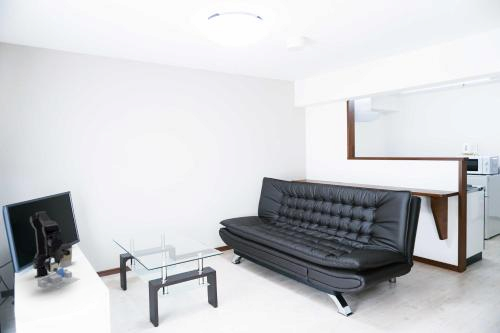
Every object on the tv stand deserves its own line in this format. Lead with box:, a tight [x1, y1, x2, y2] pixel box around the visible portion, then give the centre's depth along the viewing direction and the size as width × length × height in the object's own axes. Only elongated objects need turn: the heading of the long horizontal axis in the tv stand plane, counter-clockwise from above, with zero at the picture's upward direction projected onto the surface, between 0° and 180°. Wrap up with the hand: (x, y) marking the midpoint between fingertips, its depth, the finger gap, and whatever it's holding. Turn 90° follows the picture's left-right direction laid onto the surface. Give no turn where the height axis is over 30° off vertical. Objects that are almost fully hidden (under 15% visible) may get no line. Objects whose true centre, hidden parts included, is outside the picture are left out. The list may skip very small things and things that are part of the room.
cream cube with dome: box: [45, 261, 59, 274], centre depth 196 cm, size 9×4×4 cm, turn 61°
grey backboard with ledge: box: [36, 267, 81, 292], centre depth 202 cm, size 14×18×6 cm
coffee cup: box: [59, 242, 73, 268], centre depth 231 cm, size 9×9×15 cm
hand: (53, 270), depth 196 cm, fingers closed on cream cube with dome, 4 cm apart
